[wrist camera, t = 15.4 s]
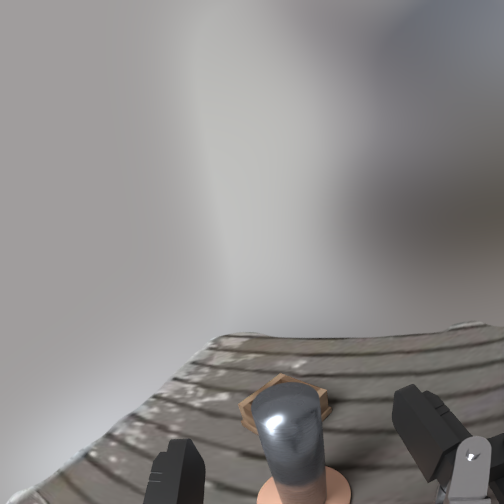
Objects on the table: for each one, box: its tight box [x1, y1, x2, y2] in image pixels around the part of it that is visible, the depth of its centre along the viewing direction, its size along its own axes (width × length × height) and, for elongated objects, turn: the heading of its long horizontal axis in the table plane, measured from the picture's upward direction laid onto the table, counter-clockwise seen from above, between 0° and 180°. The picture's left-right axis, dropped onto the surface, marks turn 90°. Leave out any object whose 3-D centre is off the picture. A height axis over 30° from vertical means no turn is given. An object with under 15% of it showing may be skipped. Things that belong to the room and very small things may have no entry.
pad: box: [257, 466, 351, 504], centre depth 21 cm, size 10×10×1 cm
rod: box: [251, 382, 327, 504], centre depth 19 cm, size 5×5×16 cm
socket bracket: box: [238, 373, 332, 435], centre depth 34 cm, size 9×9×4 cm
